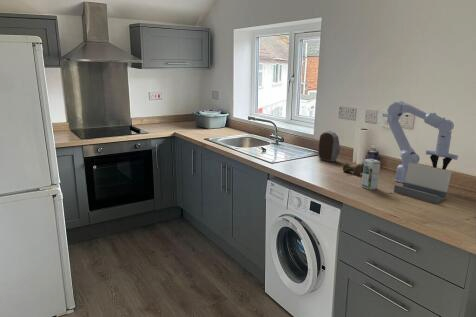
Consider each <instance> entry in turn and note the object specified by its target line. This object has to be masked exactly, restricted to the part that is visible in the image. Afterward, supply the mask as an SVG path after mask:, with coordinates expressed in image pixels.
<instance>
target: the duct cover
mask: <svg viewBox="0 0 476 317" xmlns="http://www.w3.org/2000/svg"><path fill="white" fill-rule="evenodd" d="M452 174H453V171H452V170H447V169H446V170H443V169H441V168H438V167H437V168H433V166H430V165H429V166H428V165H423V164H419V163H417V164H414V163H409V164H408V169H407V174H406V178H405V182H408V183H412V184H416V185H420V186H424V187H428V188H432V189H436V190H440V191H444V192H446V193H448V190H449V186H450V181H451V177H452Z"/></svg>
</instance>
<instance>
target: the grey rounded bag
mask: <svg viewBox="0 0 476 317" xmlns="http://www.w3.org/2000/svg"><path fill="white" fill-rule="evenodd" d="M340 150H341V148H340V140H339V136H338V135H337V133H336V132H334V131H331V130H326V131H324V132H323V133H321V134H320V136H319V139H318V149H317V152H318V158H319V159H320V160H323V161H325V160H326V162H336V161H337V159H338V157H339V156H340V153H341V151H340Z"/></svg>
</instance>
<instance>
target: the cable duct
mask: <svg viewBox="0 0 476 317" xmlns="http://www.w3.org/2000/svg"><path fill="white" fill-rule="evenodd" d="M393 193H397V194H401V195H404V196H407V197H410V198H413V199H414V198H415V199H418V200H422V201H426V202H429V203H431V204H439V203H441V202H443V201H445V200H446V197H447V192H444V191H440V190H436V189H432V188H428V187H424V186H420V185H416V184H412V183H408V182H403V183H402V185H399V184H395V185H394V188H393Z"/></svg>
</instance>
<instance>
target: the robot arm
mask: <svg viewBox="0 0 476 317" xmlns="http://www.w3.org/2000/svg"><path fill="white" fill-rule="evenodd" d="M386 111H387V116H386V117H387V121H386V122H387V124H388V127H389V128H390V130H391V133H392V135H393V137H394V139H395V141H396V143H397V146H398V148H399V150H400V157H401V164H398V165H397V167H396V171H395V179H394V182H397V183H401V184H403V182H405V178H406V174H407V169H408V164H409V163H414V164H419V162H420V159H421V158H420V155H419V154H417V153H416V151H415V149H414V148H413V147H411V144H410V142H409V140H408V139H407V138H408V137H407V135H406V134H405V132H404V130H403V128H402V125H401V123H400V121H399V120H400V119H401V116H402V115H403V114H408V113H409V114H412V115H413V116H415V117H417V118H420V119H422V120H423V122H424V123H425V124H426V125H429V126H431V127H433V128H434V129H438V135H437V140H436V146H435V150H426V151H425V155H426V156H429V155H430V156H429V158H430V161H431V164H432V167H433V168H438V162H439V158H442V169H443V170H447V167H448V166H449V164H450V163H451V161H452V160H458V159H459V155H458V154H457V155H456V154H453V153H449V152H450V146H451V140H452V134H453V133H452V132H453V129H454V127H455V124H454V122H453V121H452V120H450V119H447V118H446V117H441V116H440V115H438V114H437V113H436V112H428V113H427V112H425V111H423V110H421V109H420V108H417V107H415V106H414V105H412V104H409V103H407V102H404V101H396V102H395V101H393V102H391V103H390V104H389V105H388V107H387V109H386Z"/></svg>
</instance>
